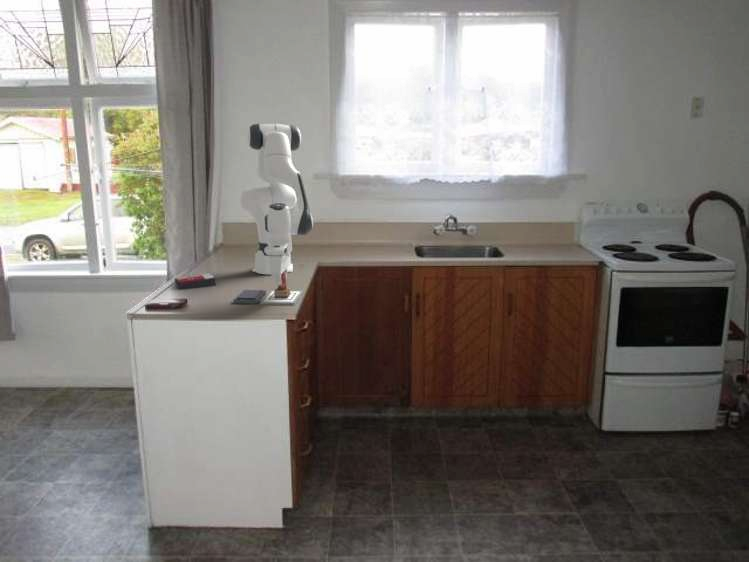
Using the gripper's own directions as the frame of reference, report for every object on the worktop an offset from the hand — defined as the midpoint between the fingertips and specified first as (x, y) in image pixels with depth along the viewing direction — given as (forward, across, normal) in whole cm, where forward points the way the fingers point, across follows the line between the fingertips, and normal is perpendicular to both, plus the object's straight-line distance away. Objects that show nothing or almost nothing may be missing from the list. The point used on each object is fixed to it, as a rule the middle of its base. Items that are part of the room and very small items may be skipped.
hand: (281, 282), depth 237 cm
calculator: (+7, -21, -42) cm, 47 cm away
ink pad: (+7, +1, -12) cm, 14 cm away
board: (+7, 0, 0) cm, 7 cm away
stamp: (+6, 0, 0) cm, 6 cm away
